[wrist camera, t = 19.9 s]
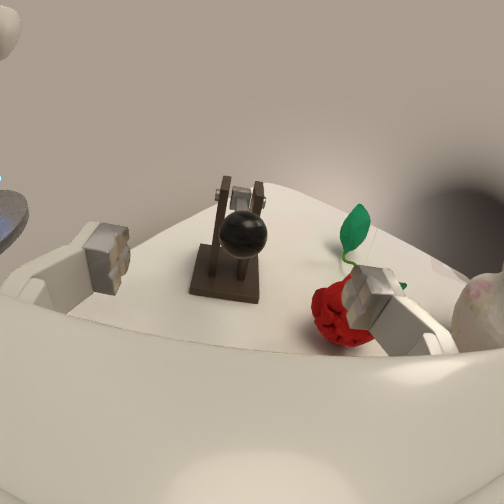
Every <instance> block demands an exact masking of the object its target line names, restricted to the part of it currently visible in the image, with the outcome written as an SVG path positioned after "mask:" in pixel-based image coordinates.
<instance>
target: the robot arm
mask: <svg viewBox="0 0 504 504" xmlns="http://www.w3.org/2000/svg"><path fill="white" fill-rule="evenodd" d="M20 30H21V21H20V17H19V15H18V13H17V12H16V11H15V10H14V9H13V8H8V7H5V6H3V5H1V4H0V61H1V60H3V59H5V58H7V57H8V56H9V54H10V53H11V52H12V50H13V49H14V47H15V45H16V43H17V41H18V39H19V36H20ZM0 180H1V177H0ZM128 240H129V229H128V228H127V227H124V226H118V225H113V224H107V223H101V222H96V221H88V222H87V223H86V224H85V225H84V227H83V228H82V229H81V230H80V231H79V233H78V234H77V235H76V236H75V238H74V239H73V240H72V241H71V243H70V244H69V245H63V246H61V247H59V248H57V249H55V250H53V251H51V252H49V253H46V254H44V255H42V256H40V257H38V258H36V259H34V260H32V261H30V262H28V263H26V264H24V265H22V266H20V267H18V268H16V269H14V270H13V271H12V272H11V273H10V275H9V276H8V277H7V278H6V280H5V281H4V283H3V284H2V285H1V287H0V504H504V348H500V349H492V350H484V351H475V352H465V353H459V351H458V349H457V346H456V344H455V342H454V340H453V338H452V336H451V334H450V332H449V331H447V330H446V329H445V328H444V327H443V326H442V325H441V324H440V323H438V322H437V321H436V320H435V319H434V318H433V317H432V316H430V315H429V314H428V313H427V312H426V311H425V310H423V309H422V308H421V307H420V306H419V305H418V304H416V303H415V302H414V301H413V300H412V299H410V298H408V297H406V296H405V294H404V292H403V290H402V288H401V286H400V284H399V282H398V280H397V279H396V277H395V275H394V273H393V271H392V270H390V269H385V268H376V267H369V266H363V265H355V266H354V267H353V269H352V271H351V277H352V278H351V279H349V280H348V281H347V282H346V283H345V285H344V287H343V289H342V295H341V298H342V304H343V306H344V307H345V308H346V309H347V310H348V312H347V314H346V317H347V320H348V324H349V327H350V329H361V330H369V332H370V333H371V334H372V336H373V337H374V338H375V339H376V341H377V342H378V343H379V344H380V345H381V347H382V348H383V349H384V350H385V352H386V353H387V354H388V355H389V357H352V356H324V355H306V354H292V353H279V352H268V351H258V350H248V349H240V348H231V347H224V346H216V345H209V344H202V343H196V342H190V341H183V340H178V339H172V338H166V337H161V336H156V335H151V334H146V333H141V332H136V331H131V330H127V329H122V328H118V327H113V326H109V325H105V324H101V323H97V322H93V321H89V320H85V319H81V318H78V317H74V316H71V315H67V313H68V312H69V311H70V310H72V309H73V308H74V307H76V306H77V305H78V304H80V303H81V302H82V301H83V300H85V299H86V298H87V297H89V296H90V295H91V294H93V292H98V293H103V294H108V295H113V296H115V295H116V293H117V291H118V289H119V287H120V285H121V276H123V275H125V274H126V272H127V270H128V267H129V262H130V248H129V246H128V245H127V244H126V243H127V241H128Z"/></svg>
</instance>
